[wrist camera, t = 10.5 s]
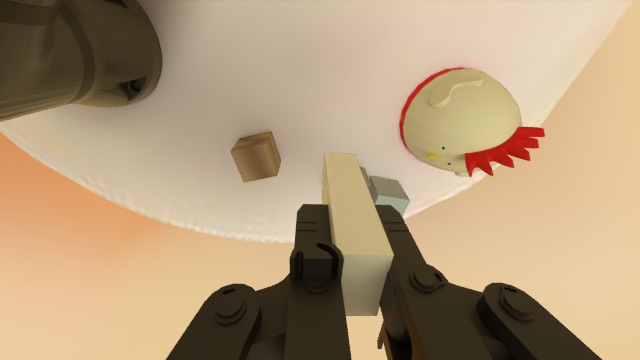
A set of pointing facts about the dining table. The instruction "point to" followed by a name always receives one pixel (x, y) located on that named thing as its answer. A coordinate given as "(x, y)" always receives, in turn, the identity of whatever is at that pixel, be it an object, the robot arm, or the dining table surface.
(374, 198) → the slate block
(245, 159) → the walnut block
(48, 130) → the dining table surface
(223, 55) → the dining table surface
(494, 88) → the kitchen timer
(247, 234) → the dining table surface
